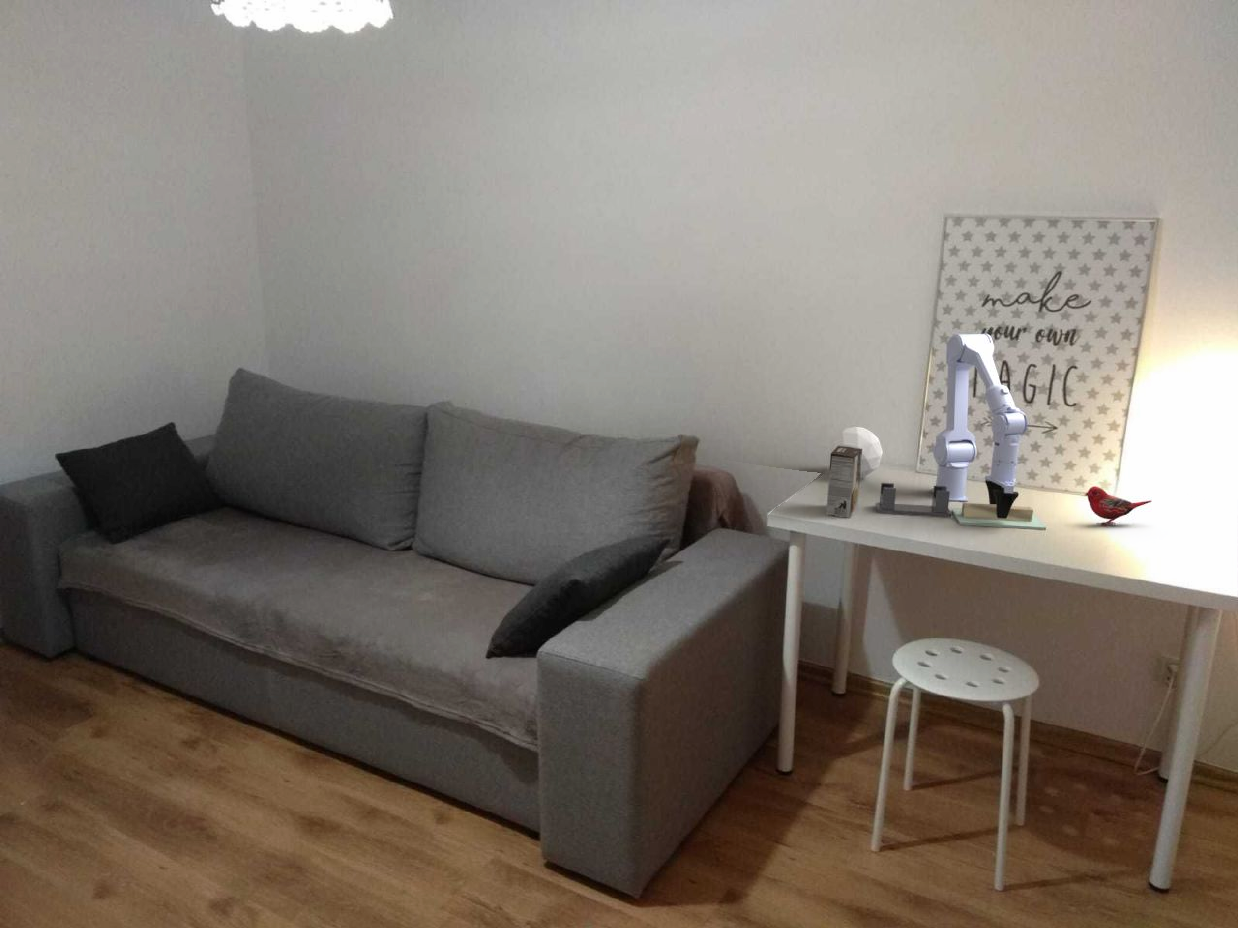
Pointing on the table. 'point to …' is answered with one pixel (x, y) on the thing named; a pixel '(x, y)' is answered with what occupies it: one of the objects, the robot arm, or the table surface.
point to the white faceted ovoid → (860, 447)
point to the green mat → (998, 522)
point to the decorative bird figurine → (1109, 505)
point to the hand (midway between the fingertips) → (998, 513)
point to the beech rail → (990, 512)
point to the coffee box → (844, 481)
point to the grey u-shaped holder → (937, 508)
